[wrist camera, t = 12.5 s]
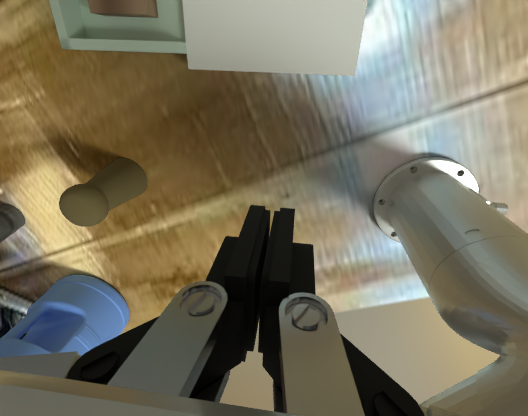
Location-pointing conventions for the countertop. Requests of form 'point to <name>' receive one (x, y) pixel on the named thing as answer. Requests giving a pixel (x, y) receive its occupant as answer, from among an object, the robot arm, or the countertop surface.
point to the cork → (103, 192)
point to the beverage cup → (10, 220)
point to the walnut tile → (124, 8)
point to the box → (120, 29)
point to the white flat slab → (274, 35)
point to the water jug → (69, 319)
